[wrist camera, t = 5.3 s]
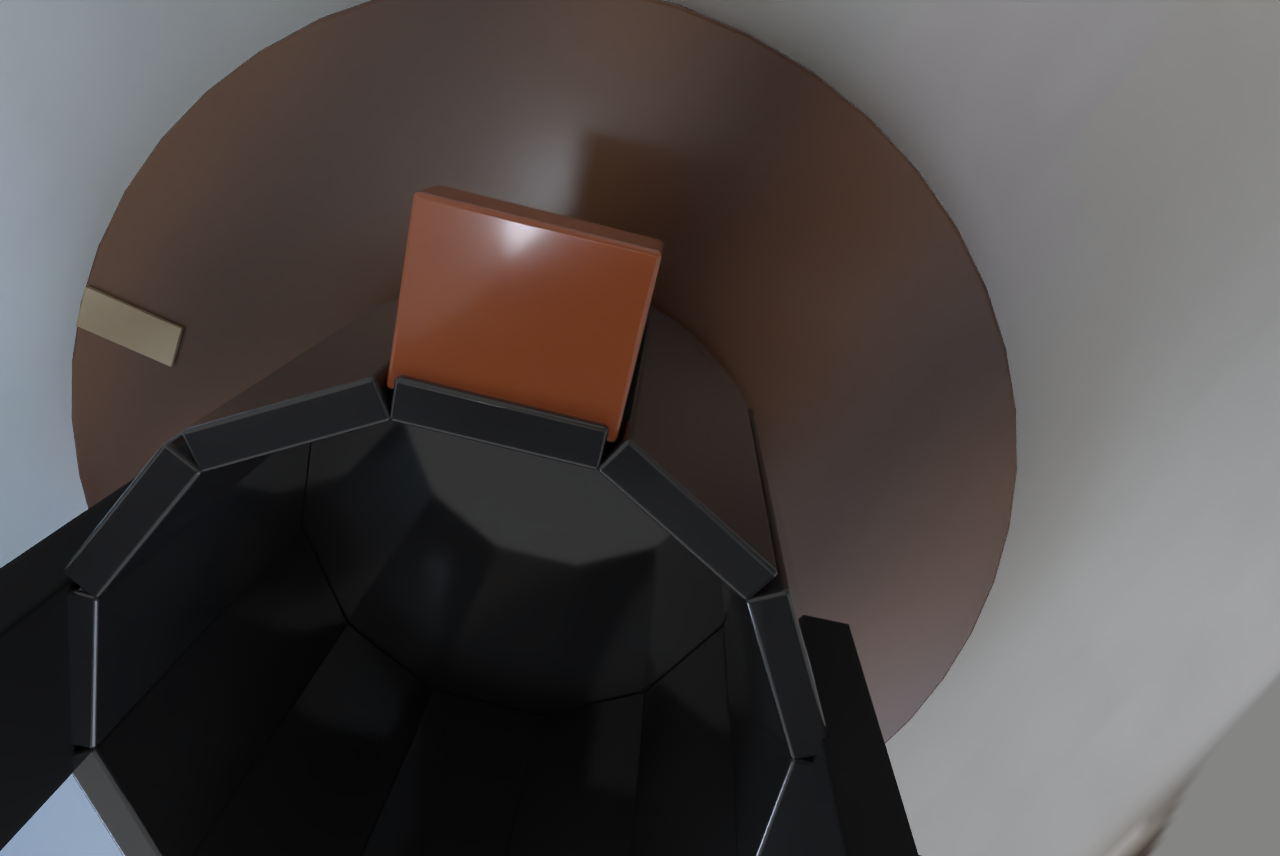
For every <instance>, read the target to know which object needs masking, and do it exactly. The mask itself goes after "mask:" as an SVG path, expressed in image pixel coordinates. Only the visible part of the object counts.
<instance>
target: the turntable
mask: <svg viewBox="0 0 1280 856" xmlns="http://www.w3.org/2000/svg"><path fill="white" fill-rule="evenodd" d="M436 185H442V186H446V187H450V188H454V189H458V190H462V191H466V192H470V193H474V194H478V195H482V196H486V197H490V198H494V199H499V200H503V201H507V202H511V203H515V204H519V205H523V206H527V207H531V208H535V209H539V210H543V211H547V212H551V213H555V214H559V215H563V216H567V217H571V218H575V219H579V220H583V221H587V222H591V223H595V224H599V225H603V226H607V227H611V228H615V229H619V230H623V231H627V232H631V233H635V234H639V235H643V236H647V237H651V238H655V239H659V240H661V241H662V242H663V244H664V250H663V255H662V260H661V264H660V268H659V272H658V276H657V280H656V284H655V288H654V292H653V296H652V300H651V304H650V305H652V306H653V307H655V308H656V309H658V310H660V311H661V312H663V313H664V314H666V315H667V316H669V317H671V318H672V319H674V320H675V321H676V322H677V323H679V324H680V325H681V326H682V327H683V328H685V329H686V330H687V331H688V332H689V333H691V334H692V335H693V336H694V337H695V338H697V339H698V340H699V341H700V342H701V343H702V344H703V345H704V346H705V347H706V348H707V349H708V350H709V352H710V353H711V354H712V355H713V356H714V357H715V358H716V359H717V360H718V361H719V362H720V364H721V365H722V366H723V367H724V369H725V370H726V371H727V373H728V374H729V376H730V377H731V379H732V380H733V381H734V383H735V384H736V386H737V387H738V389H739V390H740V391H741V392H742V393H743V394H744V395H745V397H746V402H747V405H748V407H749V409H753V410H754V413H755V416H756V420H757V424H758V427H759V431H760V435H761V438H762V441H763V444H764V447H765V450H766V455H767V460H768V465H769V468H770V472H771V476H772V480H773V483H774V487H775V491H776V494H777V498H778V502H779V506H780V509H781V513H782V517H783V521H784V526H785V530H786V535H787V539H788V544H789V549H790V553H791V558H792V562H793V567H794V571H795V576H796V581H797V585H798V590H799V594H800V599H801V603H802V608H803V612H804V615H807V616H812V617H817V618H822V619H827V620H831V621H836V622H841V623H846V624H849V627H850V630H851V633H852V636H853V640H854V643H855V646H856V650H857V653H858V656H859V660H860V663H861V666H862V670H863V673H864V676H865V680H866V683H867V686H868V690H869V693H870V696H871V700H872V703H873V706H874V710H875V713H876V716H877V719H878V723H879V726H880V729H881V733H882V736H883V739H884V743H886V742H887V741H888V740H889V739H890V738H891V737H892V736H893V735H894V734H896V733H897V732H898V731H899V730H900V729H901V728H902V727H903V726H904V725H905V724H906V723H907V722H908V721H909V720H910V719H911V718H912V717H913V715H914V714H915V713H916V712H917V711H918V709H919V708H920V707H921V706H922V704H923V703H924V702H925V701H926V700H927V698H928V697H929V696H930V695H931V693H932V692H933V691H934V690H935V689H936V687H937V686H938V685H939V684H940V682H941V681H942V680H943V679H944V677H945V675H946V674H947V672H948V671H949V669H950V667H951V666H952V664H953V662H954V661H955V659H956V658H957V656H958V654H959V653H960V651H961V649H962V648H963V646H964V645H965V643H966V641H967V640H968V638H969V636H970V635H971V633H972V631H973V629H974V626H975V624H976V622H977V620H978V617H979V615H980V613H981V610H982V608H983V606H984V604H985V601H986V599H987V597H988V595H989V592H990V590H991V588H992V585H993V583H994V580H995V576H996V573H997V569H998V566H999V562H1000V558H1001V555H1002V551H1003V548H1004V544H1005V541H1006V537H1007V534H1008V530H1009V525H1010V517H1011V510H1012V502H1013V494H1014V487H1015V479H1016V471H1017V455H1016V408H1015V402H1014V396H1013V390H1012V383H1011V377H1010V371H1009V365H1008V359H1007V353H1006V348H1005V344H1004V341H1003V338H1002V335H1001V332H1000V329H999V326H998V323H997V319H996V316H995V313H994V310H993V307H992V304H991V301H990V298H989V294H988V291H987V288H986V286H985V284H984V282H983V280H982V278H981V276H980V273H979V271H978V269H977V267H976V265H975V263H974V261H973V259H972V257H971V255H970V253H969V251H968V249H967V247H966V245H965V243H964V241H963V239H962V237H961V235H960V233H959V231H958V229H957V227H956V225H955V224H954V222H953V221H952V219H951V218H950V217H949V215H948V214H947V212H946V211H945V209H944V208H943V206H942V205H941V203H940V202H939V200H938V199H937V198H936V196H935V195H934V193H933V192H932V190H931V189H930V187H929V186H928V184H927V183H926V182H925V180H924V179H923V177H922V176H921V174H920V173H919V171H918V170H917V169H916V168H915V167H914V166H913V165H912V163H911V162H910V161H909V160H908V159H907V158H906V157H905V156H904V155H903V154H902V153H901V152H900V150H899V149H898V148H897V147H896V146H895V145H894V144H893V143H892V142H891V141H890V140H889V139H888V137H887V136H886V135H885V134H884V133H883V132H882V131H881V130H880V129H879V128H878V127H877V126H876V125H875V123H874V122H873V121H872V120H871V119H870V118H869V117H868V116H866V115H865V114H864V113H863V112H861V111H860V110H859V109H858V108H857V107H855V106H854V105H853V104H852V103H850V102H849V101H848V100H847V99H845V98H844V97H843V96H842V95H840V94H839V93H838V92H837V91H836V90H834V89H833V88H832V87H831V86H829V85H828V84H827V83H826V82H824V81H823V80H822V79H821V78H820V77H818V76H817V75H816V74H815V73H813V72H812V71H810V70H808V69H807V68H805V67H803V66H802V65H800V64H798V63H797V62H795V61H793V60H792V59H790V58H788V57H787V56H785V55H783V54H782V53H780V52H778V51H777V50H775V49H773V48H772V47H770V46H768V45H767V44H765V43H763V42H762V41H760V40H758V39H757V38H755V37H753V36H752V35H750V34H748V33H745V32H743V31H741V30H738V29H736V28H733V27H731V26H729V25H726V24H724V23H722V22H719V21H717V20H714V19H712V18H710V17H707V16H705V15H702V14H700V13H698V12H695V11H693V10H690V9H688V8H686V7H683V6H681V5H677V4H674V3H670V2H666V1H662V0H371V1H368V2H365V3H362V4H360V5H357V6H354V7H351V8H348V9H345V10H343V11H340V12H337V13H334V14H331V15H328V16H326V17H323V18H320V19H318V20H316V21H315V22H313V23H311V24H309V25H307V26H305V27H303V28H302V29H300V30H298V31H296V32H294V33H292V34H290V35H289V36H287V37H285V38H283V39H281V40H279V41H277V42H276V43H274V44H272V45H270V46H268V47H266V48H264V49H263V50H261V51H259V52H258V53H256V54H255V55H254V56H252V57H251V58H250V59H249V60H247V61H246V62H245V63H243V64H242V65H241V66H239V67H238V68H237V69H235V70H234V71H233V72H231V73H230V74H229V75H227V76H226V77H225V78H224V79H222V80H221V81H220V82H218V83H217V84H216V85H214V86H213V87H212V88H210V89H209V90H208V91H206V92H205V94H204V95H203V96H202V97H201V98H200V99H199V100H198V101H197V102H196V103H195V104H194V105H193V106H192V107H191V108H190V109H189V110H188V111H187V112H186V113H185V114H184V115H183V117H182V118H181V119H180V120H179V121H178V122H177V123H176V124H175V125H174V126H173V127H172V128H171V129H170V130H169V131H168V132H167V133H166V134H165V135H164V136H163V137H162V139H161V140H160V141H159V143H158V144H157V146H156V147H155V149H154V150H153V151H152V153H151V154H150V156H149V157H148V159H147V160H146V162H145V163H144V164H143V166H142V167H141V169H140V170H139V172H138V173H137V175H136V176H135V177H134V179H133V180H132V182H131V183H130V185H129V186H128V188H127V189H126V190H125V192H124V194H123V196H122V198H121V201H120V203H119V205H118V207H117V209H116V211H115V213H114V215H113V217H112V219H111V221H110V223H109V225H108V227H107V229H106V232H105V234H104V236H103V238H102V240H101V242H100V244H99V246H98V249H97V252H96V256H95V259H94V262H93V265H92V269H91V272H90V275H89V278H88V282H87V285H86V287H85V290H84V295H83V298H82V301H81V306H80V312H79V317H78V321H77V332H76V339H75V346H74V352H73V359H72V423H73V431H74V439H75V446H76V454H77V461H78V469H79V475H80V479H81V483H82V486H83V490H84V494H85V498H86V501H87V505H88V509H89V508H91V507H92V506H94V505H95V504H97V503H98V502H100V501H101V500H103V499H104V498H105V497H107V496H108V495H110V494H111V493H113V492H114V491H116V490H117V489H119V488H120V487H122V486H123V485H125V484H126V483H128V482H129V481H131V480H132V479H134V478H135V477H137V476H138V474H139V473H140V472H141V471H142V469H143V468H144V467H145V466H146V464H147V463H148V462H149V461H150V459H151V458H152V457H153V456H154V454H155V453H156V452H157V451H158V449H159V448H160V447H161V446H162V444H163V443H164V442H166V441H167V440H169V439H171V438H172V437H174V436H175V435H177V434H178V433H180V432H181V431H183V430H184V429H186V428H187V427H189V426H190V425H192V424H193V423H195V422H196V421H198V420H200V419H201V418H203V417H204V416H206V415H207V414H209V413H210V412H212V411H214V410H215V409H217V408H218V407H220V406H221V405H223V404H224V403H226V402H227V401H229V400H231V399H232V398H234V397H235V396H237V395H238V394H240V393H241V392H243V391H245V390H246V389H248V388H249V387H251V386H252V385H254V384H255V383H257V382H259V381H260V380H262V379H263V378H265V377H266V376H268V375H269V374H271V373H272V372H274V371H276V370H277V369H279V368H280V367H282V366H283V365H285V364H286V363H288V362H290V361H291V360H293V359H294V358H296V357H297V356H299V355H300V354H302V353H303V352H305V351H307V350H308V349H310V348H311V347H313V346H314V345H316V344H317V343H319V342H321V341H322V340H324V339H325V338H327V337H328V336H330V335H331V334H333V333H335V332H336V331H338V330H339V329H341V328H342V327H344V326H345V325H347V324H348V323H350V322H352V321H353V320H355V319H356V318H358V317H359V316H361V315H362V314H364V313H366V312H367V311H369V310H370V309H372V308H373V307H375V306H376V305H379V304H383V303H386V302H389V301H393V300H396V299H399V292H400V285H401V278H402V271H403V263H404V256H405V249H406V242H407V235H408V228H409V221H410V214H411V207H412V200H413V195H414V194H415V192H417V191H420V190H423V189H426V188H429V187H432V186H436Z"/></svg>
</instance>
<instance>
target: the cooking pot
mask: <svg viewBox="0 0 1280 856" xmlns="http://www.w3.org/2000/svg"><path fill="white" fill-rule="evenodd" d="M663 250H664V244H663V242H662V241H661V240H659V239H655V238H651V237H647V236H643V235H639V234H635V233H631V232H627V231H623V230H619V229H615V228H611V227H607V226H603V225H599V224H595V223H591V222H587V221H583V220H579V219H575V218H571V217H567V216H563V215H559V214H555V213H551V212H547V211H543V210H539V209H535V208H531V207H527V206H523V205H519V204H515V203H511V202H507V201H503V200H499V199H494V198H490V197H486V196H482V195H478V194H474V193H470V192H466V191H462V190H458V189H454V188H450V187H446V186H442V185H436V186H432V187H429V188H426V189H423V190H420V191H417V192H415V194H414V195H413V200H412V207H411V214H410V221H409V228H408V235H407V242H406V249H405V256H404V263H403V271H402V278H401V285H400V292H399V299H396V300H393V301H389V302H386V303H383V304H379V305H376V306H375V307H373V308H372V309H370V310H369V311H367V312H366V313H364V314H362V315H361V316H359V317H358V318H356V319H355V320H353V321H352V322H350V323H348V324H347V325H345V326H344V327H342V328H341V329H339V330H338V331H336V332H335V333H333V334H331V335H330V336H328V337H327V338H325V339H324V340H322V341H321V342H319V343H317V344H316V345H314V346H313V347H311V348H310V349H308V350H307V351H305V352H303V353H302V354H300V355H299V356H297V357H296V358H294V359H293V360H291V361H290V362H288V363H286V364H285V365H283V366H282V367H280V368H279V369H277V370H276V371H274V372H272V373H271V374H269V375H268V376H266V377H265V378H263V379H262V380H260V381H259V382H257V383H255V384H254V385H252V386H251V387H249V388H248V389H246V390H245V391H243V392H241V393H240V394H238V395H237V396H235V397H234V398H232V399H231V400H229V401H227V402H226V403H224V404H223V405H221V406H220V407H218V408H217V409H215V410H214V411H212V412H210V413H209V414H207V415H206V416H204V417H203V418H201V419H200V420H198V421H196V422H195V423H193V424H192V425H190V426H189V427H187V428H186V429H184V430H183V431H181V432H180V433H178V434H177V435H175V436H174V437H172V438H171V439H169V440H167V441H166V442H164V443H163V444H162V446H161V447H160V448H159V449H158V451H157V452H156V453H155V454H154V456H153V457H152V458H151V459H150V461H149V462H148V463H147V464H146V466H145V467H144V468H143V469H142V471H141V472H140V473H139V474H138V476H137V477H136V478H135V479H134V481H133V482H132V483H131V484H130V486H129V487H128V488H127V489H126V491H125V492H124V493H123V494H122V496H121V497H120V498H119V499H118V501H117V502H116V503H115V504H114V506H113V507H112V508H111V509H110V511H109V512H108V513H107V514H106V516H105V517H104V518H103V519H102V521H101V522H100V523H99V524H98V526H97V527H96V528H95V529H94V531H93V532H92V533H91V534H90V536H89V537H88V538H87V539H86V541H85V542H84V543H83V544H82V546H81V547H80V548H79V549H78V551H77V552H76V553H75V554H74V556H73V557H72V558H71V559H70V561H69V562H68V563H67V564H66V566H65V567H64V569H63V574H64V575H65V576H66V577H68V578H69V579H70V580H72V581H73V582H74V583H76V584H75V585H74V586H72V587H71V588H70V589H69V591H68V594H67V607H68V638H69V668H70V699H71V730H72V744H73V745H78V747H77V748H76V750H75V751H74V753H73V756H72V761H73V773H72V775H73V777H74V778H75V780H76V781H77V783H78V785H79V786H80V788H81V789H82V791H83V793H84V794H85V796H86V797H87V799H88V800H89V802H90V804H91V805H92V807H93V808H94V810H95V812H96V813H97V815H98V816H99V818H100V820H101V821H102V823H103V824H104V826H105V827H106V829H107V831H108V832H109V834H110V835H111V837H112V839H113V840H114V842H115V843H116V845H117V846H118V848H119V850H120V851H121V853H122V854H123V856H782V854H783V851H784V848H785V845H786V842H787V840H788V837H789V834H790V831H791V828H792V825H793V822H794V819H795V816H796V813H797V811H798V808H799V805H800V802H801V799H802V796H803V793H804V790H805V787H806V785H807V782H808V779H809V776H810V773H811V770H812V766H813V758H812V756H816V755H817V753H818V750H819V747H820V744H821V741H822V738H823V739H829V737H830V734H829V729H828V725H827V720H826V715H825V711H824V706H823V702H822V697H821V692H820V688H819V683H818V679H817V674H816V669H815V665H814V660H813V656H812V651H811V647H810V642H809V637H808V633H807V628H806V624H805V619H804V612H803V608H802V603H801V599H800V594H799V590H798V585H797V581H796V576H795V571H794V567H793V562H792V558H791V553H790V549H789V544H788V539H787V535H786V530H785V526H784V521H783V517H782V513H781V509H780V506H779V502H778V498H777V494H776V491H775V487H774V483H773V480H772V476H771V472H770V468H769V465H768V460H767V455H766V450H765V447H764V444H763V441H762V438H761V435H760V431H759V427H758V424H757V420H756V416H755V413H754V410H753V409H749V407H748V405H747V402H746V397H745V395H744V394H743V393H742V392H741V391H740V390H739V389H738V387H737V386H736V384H735V383H734V381H733V380H732V379H731V377H730V376H729V374H728V373H727V371H726V370H725V369H724V367H723V366H722V365H721V364H720V362H719V361H718V360H717V359H716V358H715V357H714V356H713V355H712V354H711V353H710V352H709V350H708V349H707V348H706V347H705V346H704V345H703V344H702V343H701V342H700V341H699V340H698V339H697V338H695V337H694V336H693V335H692V334H691V333H689V332H688V331H687V330H686V329H685V328H683V327H682V326H681V325H680V324H679V323H677V322H676V321H675V320H674V319H672V318H671V317H669V316H667V315H666V314H664V313H663V312H661V311H660V310H658V309H656V308H655V307H653V306H652V305H650V304H651V300H652V296H653V292H654V288H655V284H656V280H657V276H658V272H659V268H660V264H661V260H662V255H663Z"/></svg>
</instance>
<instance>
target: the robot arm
mask: <svg viewBox="0 0 1280 856" xmlns="http://www.w3.org/2000/svg"><path fill="white" fill-rule="evenodd" d="M135 478H136V477H135ZM135 478H134V479H135ZM134 479H132V480H131V481H129V482H128V483H126V484H125V485H123V486H122V487H120V488H119V489H117V490H116V491H114V492H113V493H111V494H110V495H108V496H107V497H105V498H104V499H103V500H101V501H100V502H98V503H97V504H95V505H94V506H92V507H91V508H89V509H88V510H86V511H85V512H83V513H82V514H80V515H79V516H77V517H76V518H74V519H73V520H71V521H70V522H68V523H67V524H65V525H64V526H63V527H61V528H60V529H58V530H57V531H55V532H54V533H52V534H51V535H49V536H48V537H46V538H45V539H43V540H42V541H40V542H39V543H37V544H36V545H34V546H33V547H31V548H30V549H28V550H27V551H25V552H24V553H22V554H21V555H20V556H18V557H17V558H15V559H14V560H12V561H11V562H9V563H8V564H6V565H5V566H3V567H2V568H0V851H1V850H2V848H3V847H4V846H5V845H6V844H7V843H8V842H9V841H10V840H11V839H12V838H13V837H14V835H15V834H16V833H17V832H18V831H19V830H20V829H21V828H22V827H23V826H24V825H25V824H26V822H27V821H28V820H29V819H30V818H31V817H32V816H33V815H34V814H35V813H36V812H37V811H38V809H39V808H40V807H41V806H42V805H43V804H44V803H45V802H46V801H47V800H48V799H49V798H50V796H51V795H52V794H53V793H54V792H55V791H56V790H57V789H58V788H59V787H60V786H61V785H62V783H63V782H64V781H65V780H66V779H67V778H68V777H69V776H70V775H71V774H72V773H73V761H72V756H73V753H74V751H75V750H76V748H77V747H78V745H73V744H72V730H71V699H70V668H69V638H68V607H67V594H68V591H69V589H70V588H71V587H72V586H74V585H75V584H76V583H74V582H73V581H72V580H70V579H69V578H68V577H66V576H65V575H64V574H63V569H64V567H65V566H66V564H67V563H68V562H69V561H70V559H71V558H72V557H73V556H74V554H75V553H76V552H77V551H78V549H79V548H80V547H81V546H82V544H83V543H84V542H85V541H86V539H87V538H88V537H89V536H90V534H91V533H92V532H93V531H94V529H95V528H96V527H97V526H98V524H99V523H100V522H101V521H102V519H103V518H104V517H105V516H106V514H107V513H108V512H109V511H110V509H111V508H112V507H113V506H114V504H115V503H116V502H117V501H118V499H119V498H120V497H121V496H122V494H123V493H124V492H125V491H126V489H127V488H128V487H129V486H130V484H131V483H132V482H133V481H134ZM804 619H805V624H806V628H807V633H808V637H809V642H810V647H811V651H812V656H813V660H814V665H815V669H816V674H817V679H818V683H819V688H820V692H821V697H822V702H823V706H824V711H825V715H826V720H827V725H828V729H829V734H830V737H829V739H823V738H822V741H821V744H820V747H819V750H818V753H817V755H816V756H812V758H813V766H812V770H811V773H810V776H809V779H808V782H807V785H806V787H805V790H804V793H803V796H802V799H801V802H800V805H799V808H798V811H797V813H796V816H795V819H794V822H793V825H792V828H791V831H790V834H789V837H788V840H787V842H786V845H785V848H784V851H783V854H782V856H920V855H918V852H917V849H916V846H915V842H914V839H913V836H912V832H911V829H910V826H909V822H908V819H907V816H906V812H905V809H904V806H903V803H902V799H901V796H900V793H899V789H898V786H897V783H896V779H895V776H894V773H893V769H892V766H891V763H890V759H889V756H888V753H887V749H886V746H885V743H884V739H883V736H882V733H881V729H880V726H879V723H878V719H877V716H876V713H875V710H874V706H873V703H872V700H871V696H870V693H869V690H868V686H867V683H866V680H865V676H864V673H863V670H862V666H861V663H860V660H859V656H858V653H857V650H856V646H855V643H854V640H853V636H852V633H851V630H850V627H849V624H846V623H841V622H836V621H831V620H827V619H822V618H817V617H812V616H807V615H804Z"/></svg>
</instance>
